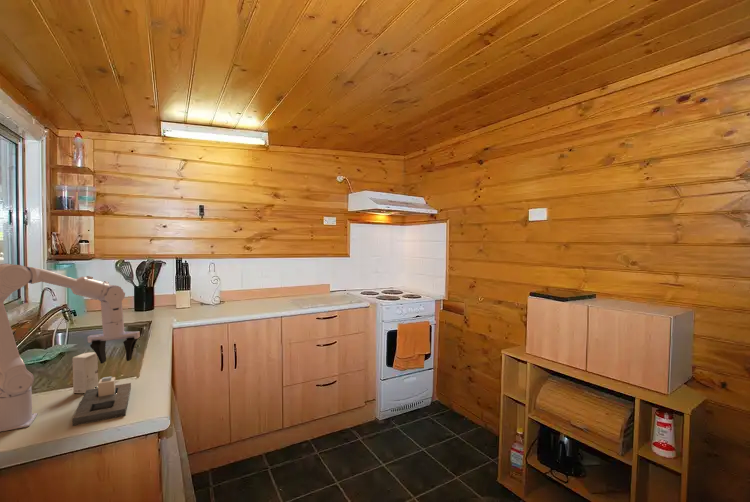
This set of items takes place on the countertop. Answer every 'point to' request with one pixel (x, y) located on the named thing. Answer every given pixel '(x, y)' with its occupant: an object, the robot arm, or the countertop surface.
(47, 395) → the countertop surface
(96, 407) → the panel
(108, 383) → the plug
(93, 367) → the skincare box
